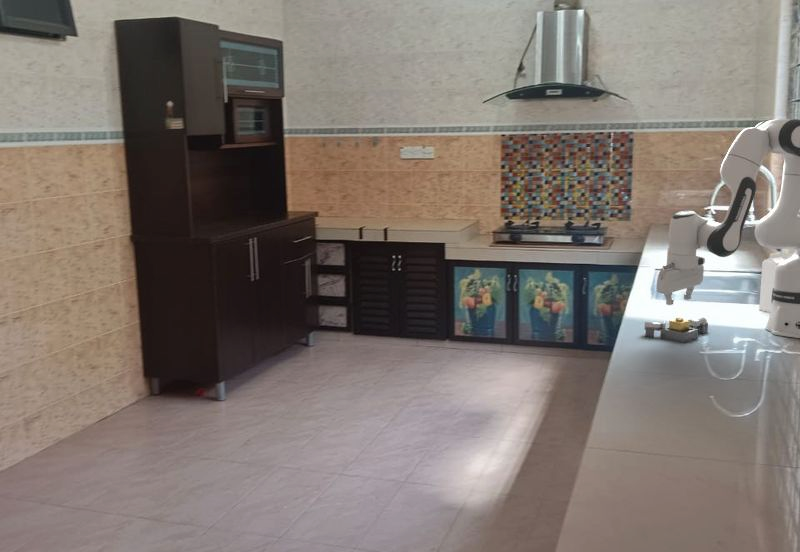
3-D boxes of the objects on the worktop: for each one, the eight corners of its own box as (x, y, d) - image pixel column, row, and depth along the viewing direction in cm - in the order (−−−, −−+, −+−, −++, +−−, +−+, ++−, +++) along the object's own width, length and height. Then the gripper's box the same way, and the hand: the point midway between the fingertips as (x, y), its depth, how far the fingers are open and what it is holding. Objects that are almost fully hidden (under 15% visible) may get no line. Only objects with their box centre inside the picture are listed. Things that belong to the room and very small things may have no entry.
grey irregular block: (697, 329, 277) (698, 315, 276) (708, 331, 274) (709, 317, 273) (684, 333, 272) (685, 319, 271) (695, 335, 269) (696, 321, 268)
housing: (697, 338, 266) (698, 329, 265) (683, 342, 261) (683, 333, 260) (674, 333, 273) (675, 324, 272) (660, 337, 267) (660, 328, 267)
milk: (783, 311, 302) (788, 253, 298) (772, 313, 299) (777, 254, 295) (768, 308, 307) (773, 251, 303) (758, 310, 304) (763, 252, 300)
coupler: (688, 335, 266) (689, 319, 265) (680, 337, 264) (681, 321, 263) (676, 332, 270) (677, 316, 269) (668, 335, 267) (669, 318, 266)
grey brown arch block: (664, 334, 271) (665, 320, 270) (664, 337, 267) (665, 323, 266) (644, 333, 272) (644, 319, 271) (644, 336, 268) (645, 322, 268)
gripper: (669, 268, 255) (666, 310, 258) (708, 258, 266) (705, 298, 270) (652, 264, 260) (650, 305, 263) (691, 254, 271) (688, 294, 275)
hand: (678, 301), depth 267 cm, fingers open, 8 cm apart
